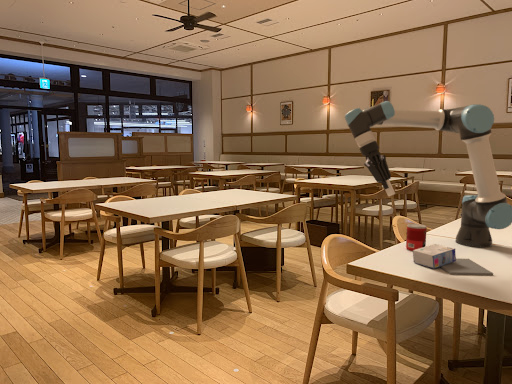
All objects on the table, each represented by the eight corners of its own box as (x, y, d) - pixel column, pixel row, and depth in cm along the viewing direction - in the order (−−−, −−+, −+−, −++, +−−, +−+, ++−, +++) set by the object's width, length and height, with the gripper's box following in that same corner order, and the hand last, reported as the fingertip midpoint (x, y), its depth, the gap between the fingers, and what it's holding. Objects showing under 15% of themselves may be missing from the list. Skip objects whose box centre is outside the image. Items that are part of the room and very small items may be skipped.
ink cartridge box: (434, 270, 146) (460, 260, 152) (433, 255, 145) (459, 246, 151) (413, 263, 155) (438, 254, 161) (412, 250, 154) (438, 241, 160)
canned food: (427, 252, 170) (428, 227, 168) (407, 251, 171) (408, 226, 170) (423, 248, 177) (424, 224, 176) (404, 247, 179) (405, 223, 177)
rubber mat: (468, 260, 158) (468, 258, 158) (493, 275, 140) (493, 273, 140) (430, 259, 159) (430, 258, 159) (450, 274, 141) (450, 272, 141)
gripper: (369, 144, 172) (392, 193, 170) (351, 150, 164) (376, 202, 161) (382, 137, 166) (407, 188, 164) (365, 143, 158) (390, 196, 156)
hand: (391, 195), depth 163 cm, fingers closed
